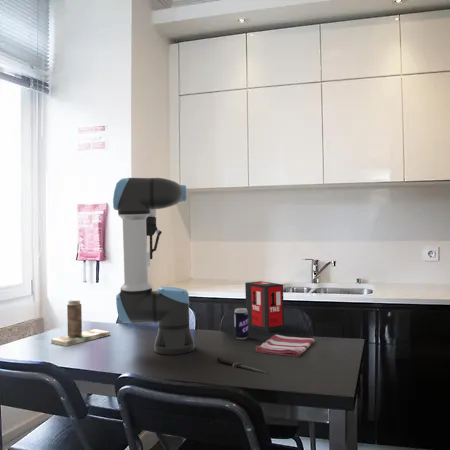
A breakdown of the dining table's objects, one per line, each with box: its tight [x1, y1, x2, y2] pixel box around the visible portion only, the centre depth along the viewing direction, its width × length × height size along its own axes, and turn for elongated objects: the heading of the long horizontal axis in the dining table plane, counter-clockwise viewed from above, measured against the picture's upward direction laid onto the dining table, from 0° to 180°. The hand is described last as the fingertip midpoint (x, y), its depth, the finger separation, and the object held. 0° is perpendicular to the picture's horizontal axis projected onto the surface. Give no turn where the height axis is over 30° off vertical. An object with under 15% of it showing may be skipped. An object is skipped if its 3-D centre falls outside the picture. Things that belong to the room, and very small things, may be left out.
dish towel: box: [255, 334, 316, 358], centre depth 174 cm, size 17×23×3 cm
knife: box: [216, 357, 271, 375], centre depth 148 cm, size 25×2×5 cm
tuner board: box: [50, 328, 111, 347], centre depth 193 cm, size 22×10×2 cm, turn 143°
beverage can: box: [233, 307, 249, 340], centre depth 189 cm, size 6×6×12 cm
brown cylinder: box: [66, 299, 83, 338], centre depth 190 cm, size 5×7×15 cm, turn 53°
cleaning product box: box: [244, 280, 285, 333], centre depth 209 cm, size 16×9×20 cm, turn 33°
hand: (148, 266), depth 216 cm, fingers closed
